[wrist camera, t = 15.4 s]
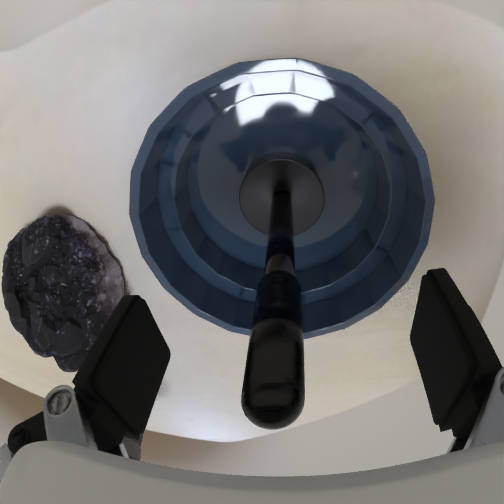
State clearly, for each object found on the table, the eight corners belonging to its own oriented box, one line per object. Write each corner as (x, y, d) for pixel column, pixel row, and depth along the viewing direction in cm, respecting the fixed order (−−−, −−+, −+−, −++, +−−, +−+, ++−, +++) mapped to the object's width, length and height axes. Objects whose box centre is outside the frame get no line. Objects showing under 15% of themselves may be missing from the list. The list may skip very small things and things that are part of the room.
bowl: (438, 161, 18) (482, 192, 13) (310, 312, 26) (313, 367, 21) (237, 24, 15) (217, 0, 10) (137, 221, 23) (100, 264, 18)
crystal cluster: (18, 197, 23) (-50, 255, 15) (120, 213, 22) (39, 300, 14) (52, 294, 31) (8, 353, 23) (144, 326, 30) (102, 404, 22)
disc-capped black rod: (336, 179, 19) (424, 402, 6) (293, 238, 21) (294, 468, 8) (268, 136, 18) (218, 320, 5) (228, 201, 20) (141, 421, 7)
